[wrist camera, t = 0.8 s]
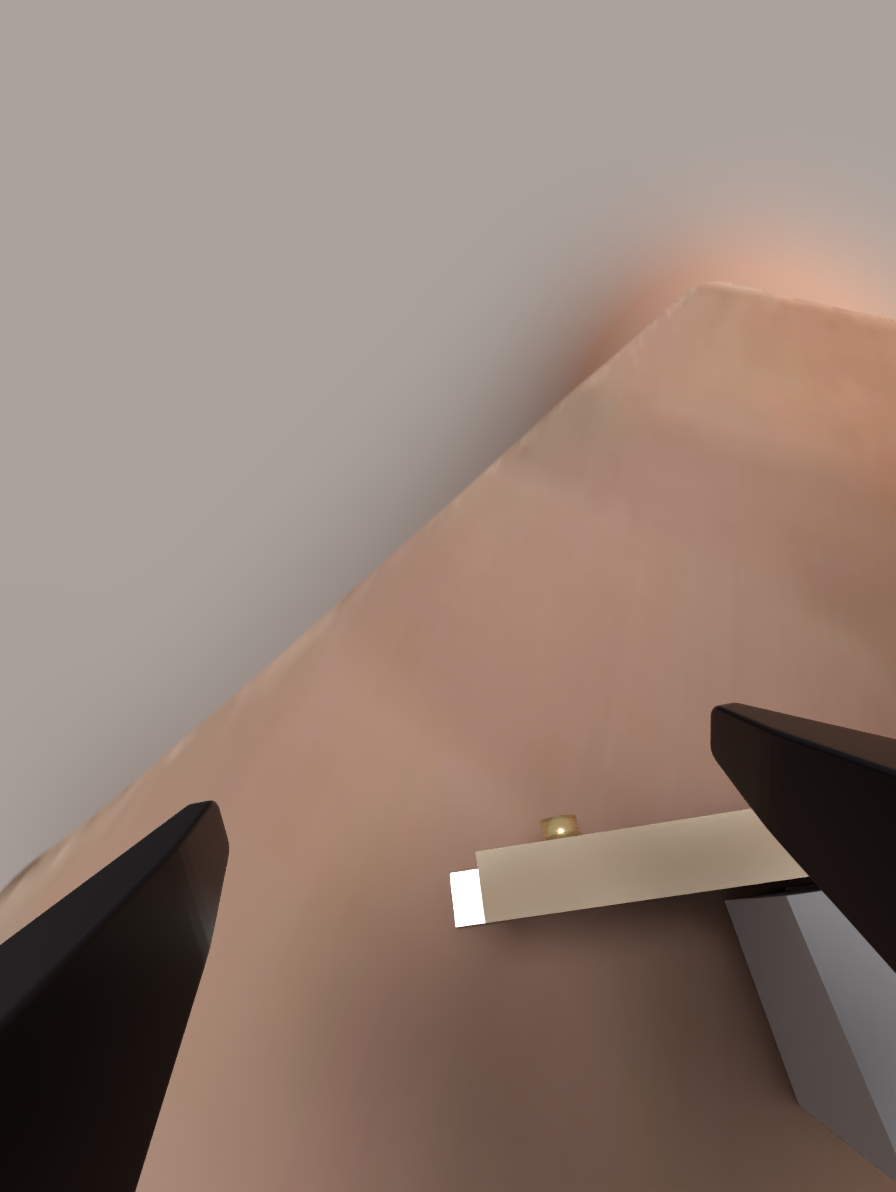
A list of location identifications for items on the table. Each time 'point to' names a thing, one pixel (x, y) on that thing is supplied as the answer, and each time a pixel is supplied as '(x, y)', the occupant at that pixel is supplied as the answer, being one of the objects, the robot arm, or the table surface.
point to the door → (629, 864)
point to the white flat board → (467, 898)
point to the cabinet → (826, 1013)
